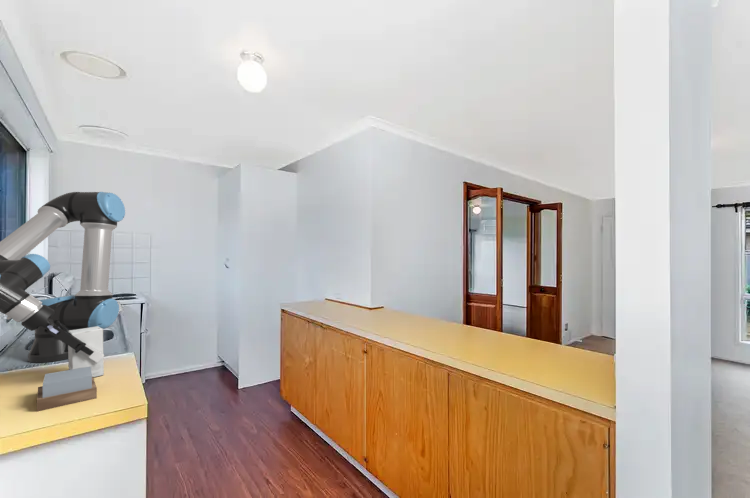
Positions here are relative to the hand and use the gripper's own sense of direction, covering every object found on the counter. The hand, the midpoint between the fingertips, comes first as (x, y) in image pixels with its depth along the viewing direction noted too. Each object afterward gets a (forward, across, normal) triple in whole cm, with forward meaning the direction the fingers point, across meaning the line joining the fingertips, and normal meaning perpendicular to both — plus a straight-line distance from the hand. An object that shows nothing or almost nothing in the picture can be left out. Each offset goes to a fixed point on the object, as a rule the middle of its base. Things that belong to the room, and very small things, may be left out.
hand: (99, 356), depth 117 cm
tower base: (-1, +17, -11) cm, 21 cm away
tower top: (-4, +18, -8) cm, 20 cm away
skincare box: (+2, 0, -7) cm, 7 cm away
